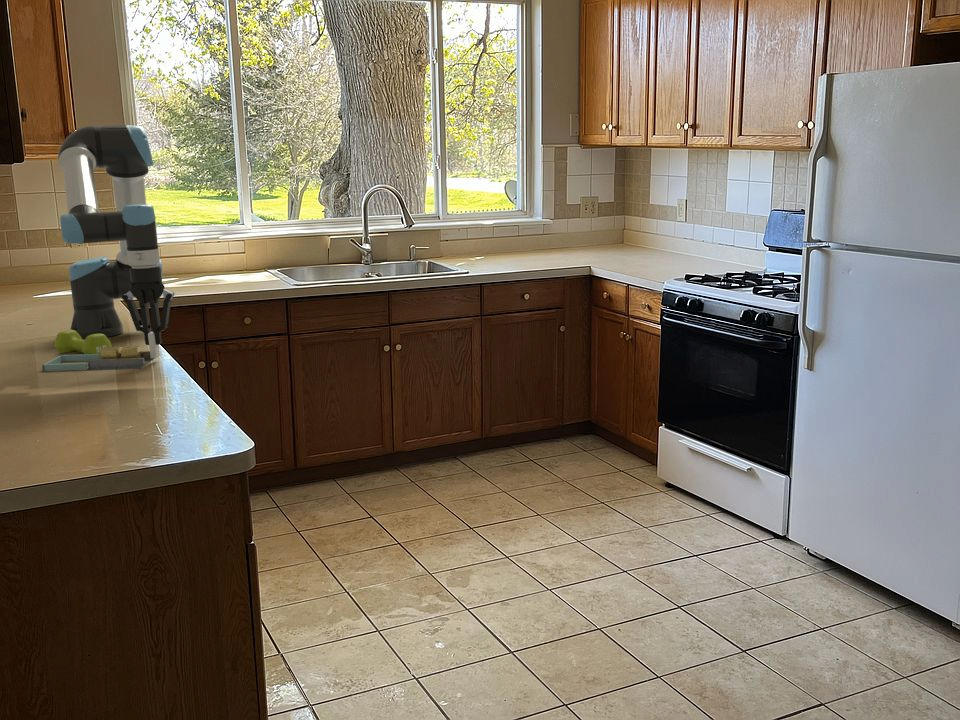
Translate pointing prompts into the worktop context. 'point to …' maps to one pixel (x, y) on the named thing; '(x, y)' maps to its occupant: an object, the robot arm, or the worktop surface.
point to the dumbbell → (80, 342)
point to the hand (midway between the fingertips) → (155, 356)
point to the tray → (55, 365)
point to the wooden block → (111, 353)
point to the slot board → (120, 363)
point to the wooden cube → (130, 352)
